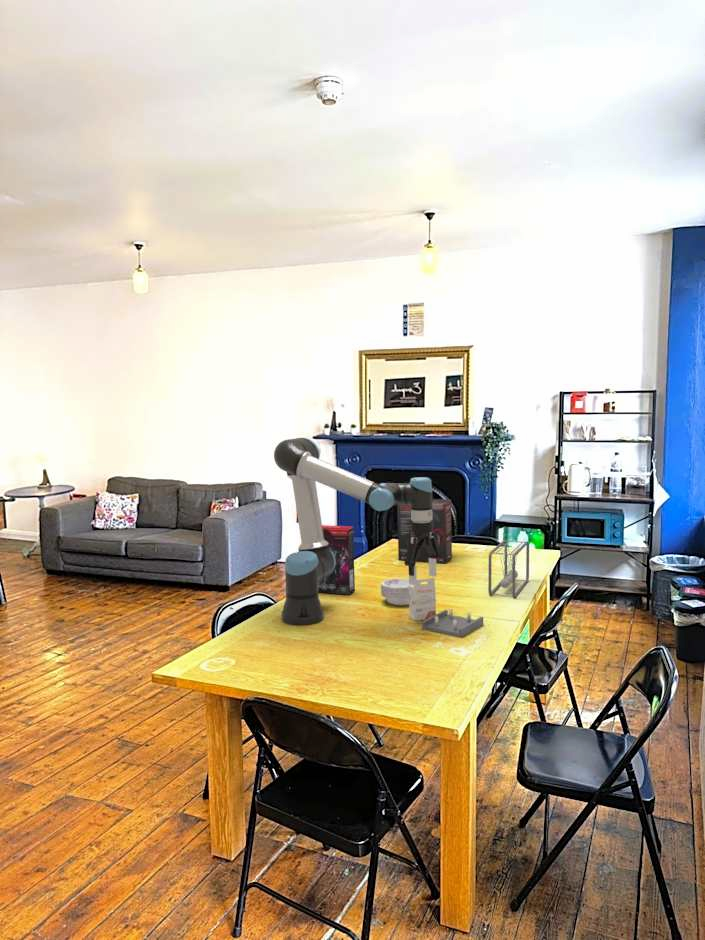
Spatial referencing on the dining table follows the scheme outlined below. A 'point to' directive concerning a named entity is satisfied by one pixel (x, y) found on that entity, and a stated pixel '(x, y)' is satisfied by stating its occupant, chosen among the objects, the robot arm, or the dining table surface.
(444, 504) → the headset box
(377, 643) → the dining table surface
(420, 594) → the ink cartridge box
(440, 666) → the dining table surface
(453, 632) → the pin tray
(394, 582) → the paper bowls
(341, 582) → the graphics card box
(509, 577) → the newton's cradle
